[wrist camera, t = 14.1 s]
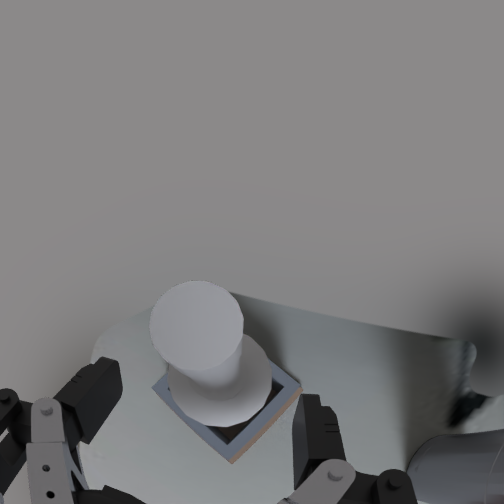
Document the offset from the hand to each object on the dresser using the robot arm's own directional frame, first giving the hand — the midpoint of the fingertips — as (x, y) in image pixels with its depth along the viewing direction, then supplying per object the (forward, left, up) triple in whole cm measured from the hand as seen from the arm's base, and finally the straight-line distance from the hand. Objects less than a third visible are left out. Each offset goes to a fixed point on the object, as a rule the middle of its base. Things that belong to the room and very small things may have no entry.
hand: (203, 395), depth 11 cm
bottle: (+1, -1, -18) cm, 18 cm away
